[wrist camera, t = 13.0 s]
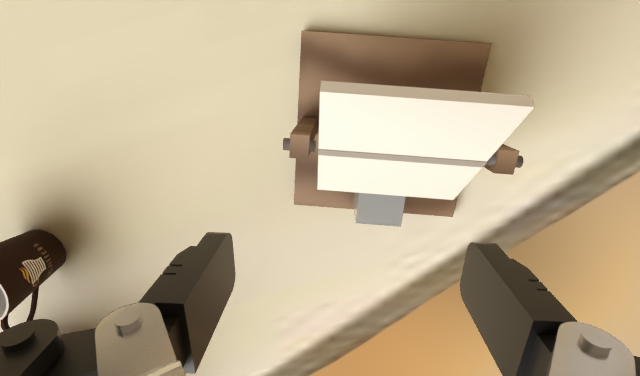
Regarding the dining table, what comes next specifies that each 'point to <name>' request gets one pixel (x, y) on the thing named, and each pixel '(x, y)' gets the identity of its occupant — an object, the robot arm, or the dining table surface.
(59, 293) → the dining table surface
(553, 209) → the dining table surface
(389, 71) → the stand
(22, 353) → the robot arm
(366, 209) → the gray cube
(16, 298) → the coffee mug
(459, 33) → the dining table surface
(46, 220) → the dining table surface
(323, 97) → the trapdoor
